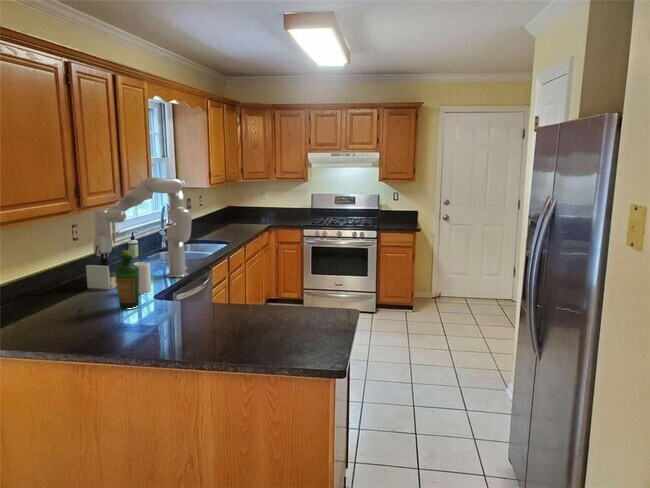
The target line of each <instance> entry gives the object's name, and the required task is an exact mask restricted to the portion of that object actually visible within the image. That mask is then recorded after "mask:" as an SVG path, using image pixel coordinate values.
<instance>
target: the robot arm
mask: <svg viewBox="0 0 650 488" xmlns="http://www.w3.org/2000/svg"><path fill="white" fill-rule="evenodd" d="M183 186H184V185H183V183H182V181H181V180H180V179H178V178H174V177H173V178H171V177H165V178H162V177H152V176H149V177H146V178H145V179H144V180H142V181H141V182H140V183H139V184H138V185H137V186H135V187H134V188H133V189H132V190H131V191H130V192H129V193H127V194H125V195H124V196H122V197H121V198H119V199H120V203H119V204H118V206H114V207H111V206H109V208H107V209H104V208H103V209H95V210H94V212H93V215H94V217H93V218H94V233H95V234H94V237H93V253H94V254H96V257H97V256H98V257H99V259H100V266H109V259H108V258H109V255H110V254H111V253H112V250H113V241H112V240H113V239H112V235H111V223H117V224H118V223H119V224H120V223H123V222H124V221H125V220H126V219H127V214H126V211H128V210H129V209H131V208H133V207H137V206H139V205H141V204H143V203H144V202H145V201H146V200H147V199H148V198H149V197H151V196H152V194H154V193H156V194H167V195H168V198H169V209H168V210H169V211H168V212H169V213H168V215H169V216H168V218H169V220H170V221H171V222H172V223H175V224H172V225H169V226H168V228H167V230H166V232H165V233H166V240H167V241H166V242H167V245H168V247H167V251H168V270H169V271H168V273H166V277H167V276H168V278H170V277H181V278H185V276H186V277H188V276H189V273H188V272H187V270H188V269H189V268H188V266H186V249H185V248H186V247H185V243H186V242H188V241H189V240H190V238H191V236H192V221H193V220H192V219H193V218H192V213H191V211H189V210H188V209H187V208H185V195H184V193H183ZM187 275H188V276H187Z"/></svg>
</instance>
